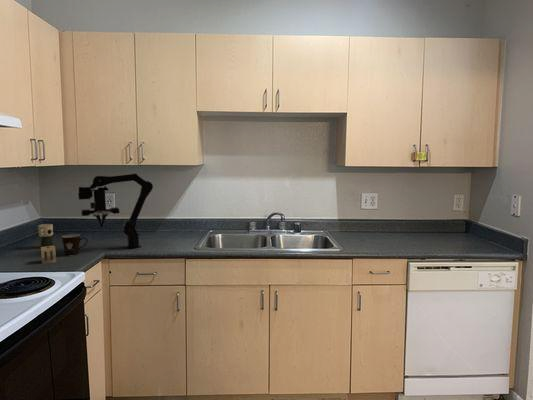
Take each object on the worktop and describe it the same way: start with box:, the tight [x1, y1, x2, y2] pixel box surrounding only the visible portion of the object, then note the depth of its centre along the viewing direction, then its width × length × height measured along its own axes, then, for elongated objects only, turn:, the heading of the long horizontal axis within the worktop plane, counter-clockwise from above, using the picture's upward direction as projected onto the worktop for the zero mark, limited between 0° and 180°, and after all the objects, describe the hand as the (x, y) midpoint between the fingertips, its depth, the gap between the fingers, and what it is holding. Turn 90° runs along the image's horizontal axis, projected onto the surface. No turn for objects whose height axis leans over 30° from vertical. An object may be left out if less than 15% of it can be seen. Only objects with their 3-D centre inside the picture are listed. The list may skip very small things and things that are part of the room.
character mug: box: [37, 223, 54, 248], centre depth 217 cm, size 11×7×13 cm, turn 3°
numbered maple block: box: [40, 245, 57, 265], centre depth 188 cm, size 6×6×7 cm
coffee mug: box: [61, 233, 89, 256], centre depth 201 cm, size 12×9×10 cm
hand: (101, 226), depth 209 cm, fingers closed
